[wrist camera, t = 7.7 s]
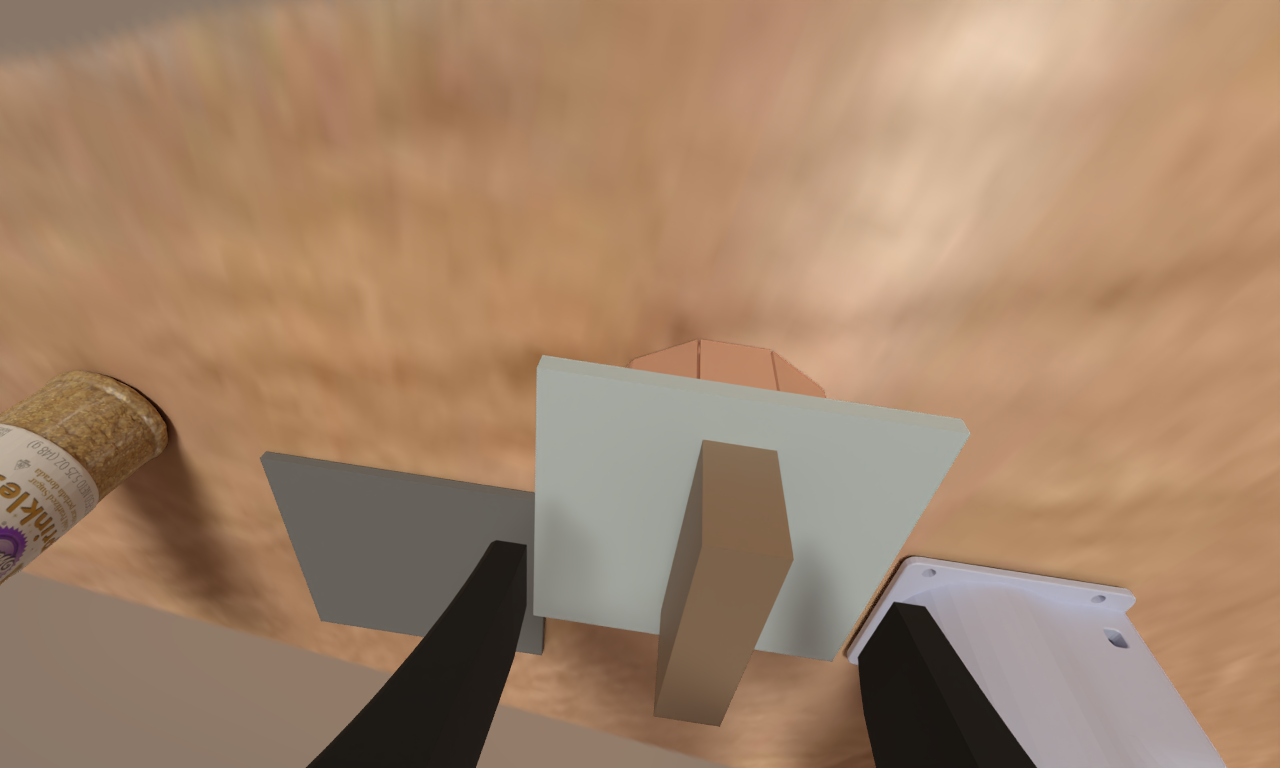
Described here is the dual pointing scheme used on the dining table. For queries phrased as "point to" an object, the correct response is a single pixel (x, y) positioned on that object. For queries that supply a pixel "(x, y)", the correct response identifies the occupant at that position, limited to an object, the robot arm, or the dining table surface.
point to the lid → (720, 516)
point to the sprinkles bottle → (68, 458)
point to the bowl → (729, 366)
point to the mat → (395, 541)
